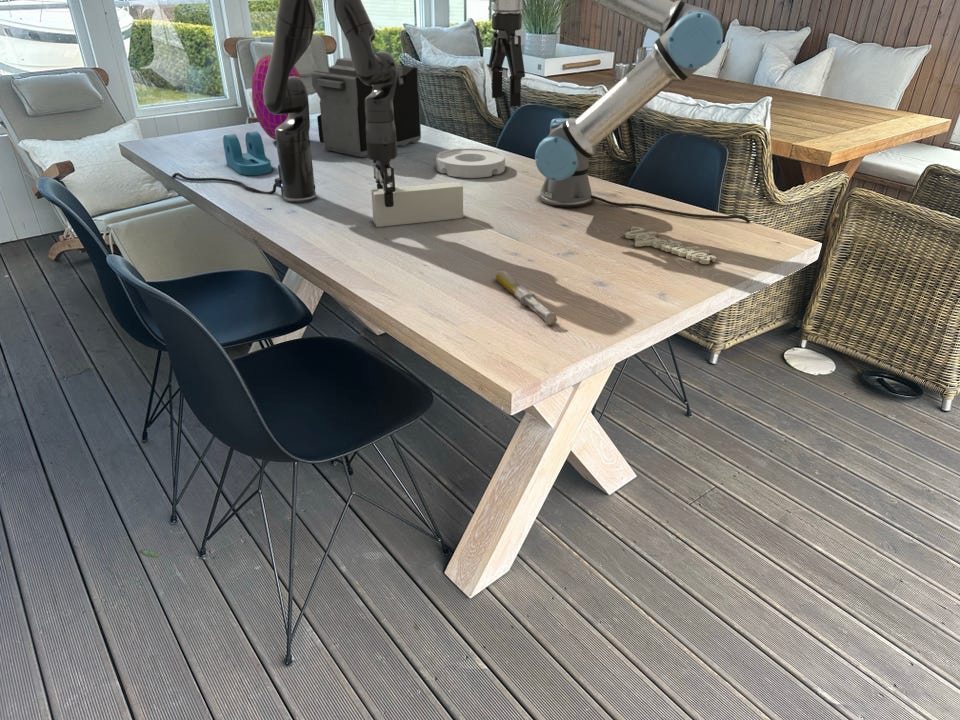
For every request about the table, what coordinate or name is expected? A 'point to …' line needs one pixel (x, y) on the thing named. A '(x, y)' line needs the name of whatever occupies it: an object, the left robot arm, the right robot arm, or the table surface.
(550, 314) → the syringe
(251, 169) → the camera mount
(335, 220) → the table surface
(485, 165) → the ashtray
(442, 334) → the table surface
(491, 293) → the table surface
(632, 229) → the decorative sign
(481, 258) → the table surface
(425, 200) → the bar
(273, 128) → the decorative egg
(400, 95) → the tool box
